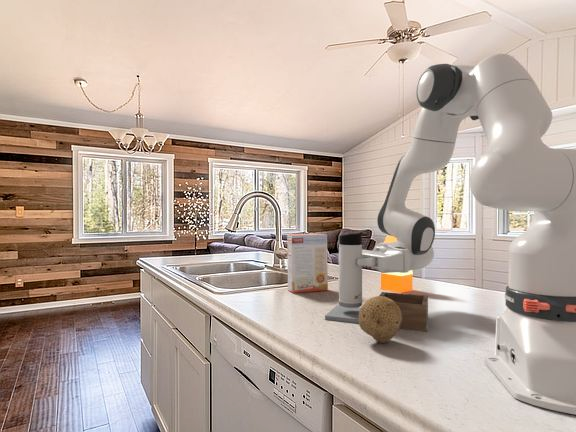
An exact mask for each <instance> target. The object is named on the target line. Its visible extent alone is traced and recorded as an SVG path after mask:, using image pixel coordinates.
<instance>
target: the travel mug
mask: <svg viewBox="0 0 576 432" xmlns="http://www.w3.org/2000/svg"><path fill="white" fill-rule="evenodd" d="M362 236H364V232H363V231H362V232H361V231H359V233H358V232H356V233H348V234H341V235H339V236H338V237H339V238H338V240H339V244H338V246H339V247H338V257H339V261H338V305H339V306H342V307H347V308H358V307H359V308H361V307H362V305H363V266H359V265H356V264H355V262H356V261H355V259H356V258H362V250H363V242H362V241H363V237H362Z"/></svg>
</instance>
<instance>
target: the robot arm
mask: <svg viewBox="0 0 576 432" xmlns="http://www.w3.org/2000/svg"><path fill="white" fill-rule="evenodd" d="M416 99H417V101H418V105H420V107H421V109H420V111H419V114H418V116H417V119H416V122H415V124H414V125H415V126H414V129H413V134H412V139H411V143H410V144H409V148H408V149H407V152H406V153H405V154H404V155H401V158H400V159H399V160H398V162H397V165H396V168H395V170H394V173H393V175H392V178H391V181H390V185H389V188H388V191H387V194H386V197H385V199H384V202H383V204H382V206H381V207H380V210H379V211H378V214H377V217H376V218H377V226H378V229H379V230H380V231H381V232H382V233H383V234H386V235H387V236H393V237H395V238H397V240H396V241H395V242H385V243H384V242H379V243H377V244H376V245H375V246H374V247H373V249H372V250H368V249H362V258H356V259H355V261H356V262H355V264H356V265H359V266H362V267H363V266H364V267H368V268H373V269H375V270H377V272H378V273H380V274H381V273H393V272H400V273H407V272H409V271H411V270H413V271H416V270H421V269H423V268H425V267H426V268H427V266H429V265H430V264H431V263H432V261H433V260H434V256H435V252H434V248H433V244H434V240H435V237H436V236H435V235H436V226H435V223H434V221H433V219H432V218H431V217H429V216H426V215H424V214H422V213H420V212H418V211H414V210H412V209H410V208H407V207H406V200H407V197H408V194H409V191H410V189H411V185H412V183H413V180H414V179H415V178H417V177H418V176H420V175H423V174H429V173H434V172H436V171H439V170H441V169H442V168H444V167H445V166H447V165H448V164H449V162H450V160H451V159H452V157H453V154H454V150H455V146H456V142H457V137H458V132H459V127H460V125H461V123H462V122H463V120H465V119H467V118H470V119H471V120H472V121H477V120H478V121H479V122H480V125H481V128H482V130H483V132H484V135H485V139H486V151H485V152H484V154H482V155H481V156H480V157H479V158H478V159H477V160H476V161H475V163H474V165H473V167H472V168H471V170H470V171H471V172H470V174H469V175H470V176H469V188H470V190H471V193H472V196H473V197H474V198H475V200H476V202H478V203H479V204H480V205H482V206H485V207H489V208H494V209H498V210H503V211H508V212H533V217H532V220H531V221H530V224H529V226H528V228H527V229H526V230H525V231H524V232H523V233H522V234H520V235H519V236H517V237H515V238H514V239H513V240H512V241H511V243H510V245H509V247H508V255H507V256H508V259H507V262H508V264H507V265H508V270H507V271H508V275H507V276H508V278H507V279H508V280H507V282H508V285H507V286H506V287H505V293H504V299H505V306H506V309H505V310H504V311H503V313H501V314H500V315H498V316H497V317H496V320H495V321H496V322H495V340H494V353H489V354H485V356H484V360H483V362H484V363H485V364H486V365H487V367H488V368H489V369H490V370H491V372H492V373H493V374H494V375H495V376H496V377H497V379H498V380H499V382H501V383H502V384H503V386H504V387H505V388H506V389H507V390H508V392H509V393H510V394H511V396H512V397H513V398H515V399H517V400H519V401H521V402H523V403H526V404H528V405H529V404H530V405H533V406H536V407H539V408H543V409H547V410H552V411H555V412H560V413H565V414H571V415H576V149H575V148H553V147H552V148H551V147H549V146H548V145H547V144H545V143H544V142H543V139H542V137H544V135H545V134H546V133H547V131H548V130H549V128H550V126H551V123H552V121H553V112H552V110H551V108H550V107H549V105H548V102H547V101H546V98H544V96H543V94H542V92H541V91H540V89H539V87H538V85H537V84H536V81H534V78H533V77H532V76H531V74H530V73H529V72H528V70H527V69H526V67H524V66H523V65H522V64H521V63H520V62H519V61H518V60H517V59H516V58H515V57H514V56H512V55H510V54H507V53H495V54H491V55H488V56H486V57H485V58H483V59H482V60H480V61H479V62H477V64H476V65H475V66H472V65H463V64H449V63H439V64H433V65H430V66H428V67H427V69H425V70H424V71H423V73H422V74H421V76H420V77H419V80H418V82H417V86H416ZM337 259H338V260H337V261H338V262H339V256H338V258H337Z"/></svg>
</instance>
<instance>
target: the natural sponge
mask: <svg viewBox="0 0 576 432" xmlns="http://www.w3.org/2000/svg"><path fill="white" fill-rule="evenodd" d="M360 308H361V309H360V312H359V323H358V324H359V327H360V329H361V330H362V331H363V332H364V333H365V334H367V335H369V336H370V337H372V339H373V340H375V341H376V342H379V343H382V344H384V343H387V342H389V341H391V340H392V339H393V338H394V337H395V335H396V334H397V332H398V331H399V329H400V328H399V327H400V325H401V321H402V314H401V310H400V308H399V306H398V305H397V304H396V303H395V302H394V301H393V300H391V299H390V298H388V297H383V296H379V295H375V296H373V297H371V298H368V299H367V300H366V301H365V302H364V303H362V306H361V307H360Z"/></svg>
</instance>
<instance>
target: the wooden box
mask: <svg viewBox="0 0 576 432" xmlns="http://www.w3.org/2000/svg"><path fill="white" fill-rule="evenodd" d="M378 296H383V297H388V298H390V299H391V300H393V301H394V302H395V303H396V304H397V305H398V306H399V308H400V310H401V314H402V321H401V325H400V327H399V329H403V330H410V331H411V330H413V331H421V332H427V329H428V328H427V327H428V322H429V295H426V294H425V295H423V294H422V295H421V294H412V293H410V294H409V293H400V292H388V291H387V292H385V291H381V293H380V294H379V295H378Z"/></svg>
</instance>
